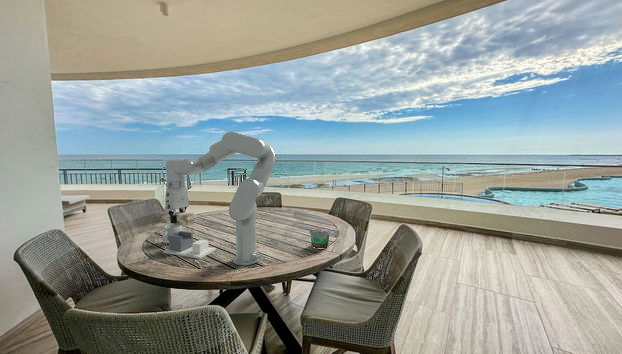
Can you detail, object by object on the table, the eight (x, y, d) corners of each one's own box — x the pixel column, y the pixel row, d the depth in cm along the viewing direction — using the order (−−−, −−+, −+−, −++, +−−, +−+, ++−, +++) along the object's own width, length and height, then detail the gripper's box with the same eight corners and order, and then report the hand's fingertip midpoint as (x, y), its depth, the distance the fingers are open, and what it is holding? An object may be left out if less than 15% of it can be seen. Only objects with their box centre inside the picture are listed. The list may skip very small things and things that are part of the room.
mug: (171, 239, 144) (171, 223, 143) (185, 240, 143) (184, 224, 142) (156, 247, 132) (155, 229, 131) (170, 247, 131) (170, 230, 130)
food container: (306, 249, 129) (306, 231, 129) (309, 245, 135) (309, 228, 134) (328, 251, 126) (329, 233, 126) (330, 247, 132) (330, 230, 132)
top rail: (194, 223, 114) (193, 213, 114) (187, 225, 111) (187, 215, 110) (168, 221, 119) (167, 211, 118) (161, 223, 115) (160, 213, 114)
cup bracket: (216, 249, 128) (215, 233, 127) (199, 258, 116) (199, 241, 116) (182, 244, 135) (181, 229, 134) (163, 252, 124) (162, 236, 123)
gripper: (167, 187, 104) (169, 227, 106) (195, 183, 120) (196, 218, 122) (154, 186, 106) (156, 226, 108) (183, 183, 122) (184, 217, 124)
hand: (177, 221), depth 115 cm, fingers closed on top rail, 4 cm apart
